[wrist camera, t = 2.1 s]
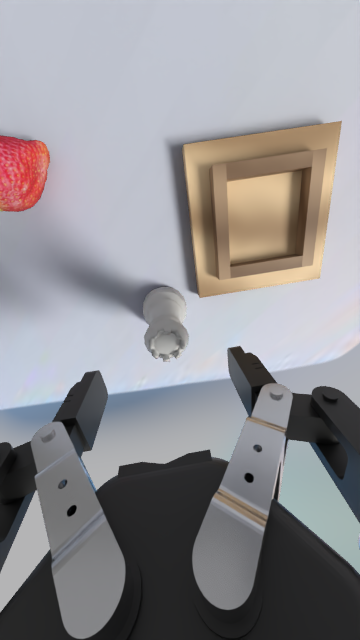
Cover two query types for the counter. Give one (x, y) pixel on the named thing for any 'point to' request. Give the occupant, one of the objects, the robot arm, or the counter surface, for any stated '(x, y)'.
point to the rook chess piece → (165, 323)
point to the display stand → (260, 206)
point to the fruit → (22, 173)
